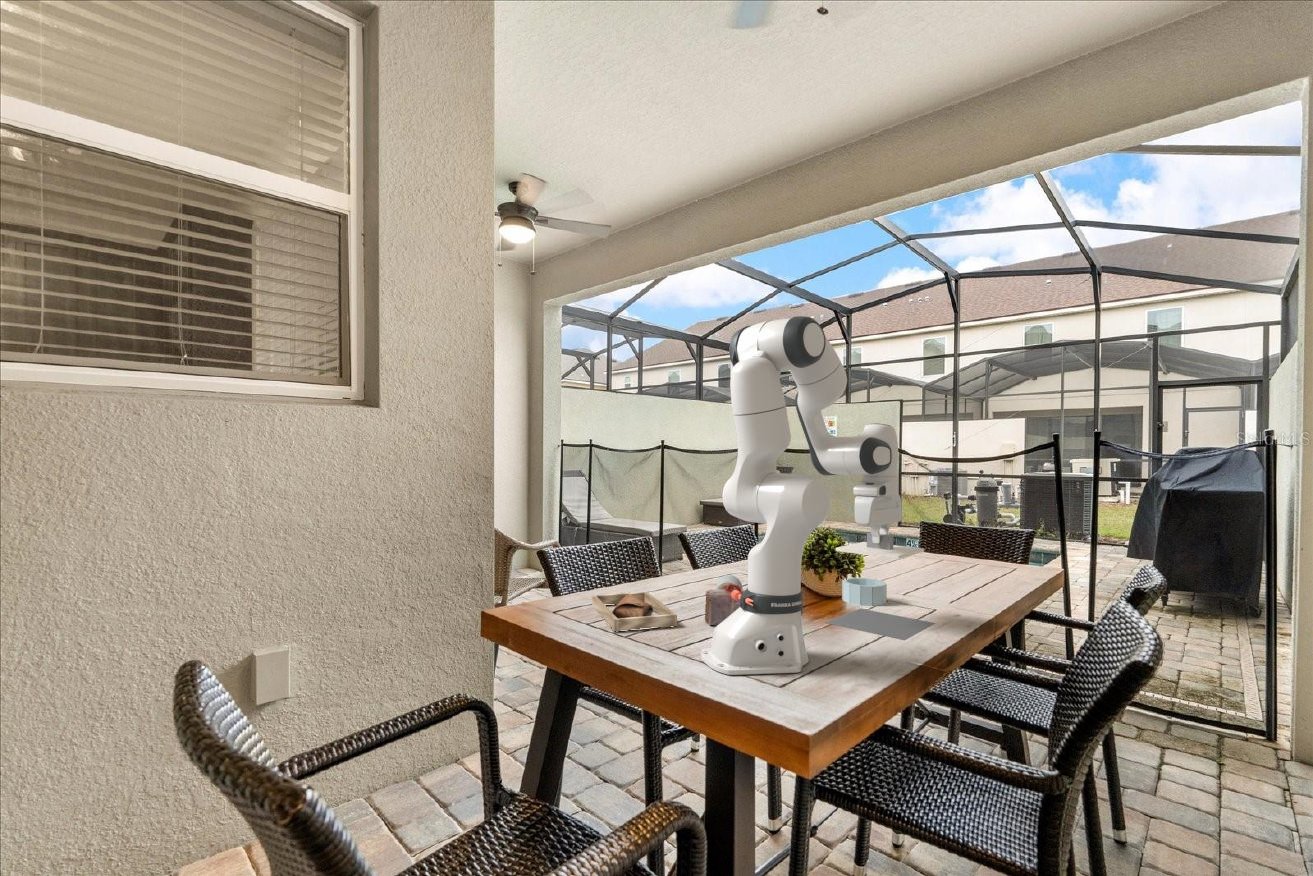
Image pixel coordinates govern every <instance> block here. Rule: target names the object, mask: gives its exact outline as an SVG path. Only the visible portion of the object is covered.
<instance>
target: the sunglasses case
mask: <svg viewBox="0 0 1313 876" xmlns="http://www.w3.org/2000/svg"><path fill="white" fill-rule="evenodd" d="M627 593H628V594H626V595H625V597H624V598H623V599H622V600H621V601H620V602H619V603H618V604H617V605H615V607H614V608H613V610H612V611H611V612H612V613H613V614H614V615H615V616H616V617H617V618H630V617H643V616H646V615H647V614H648V612H649V611H650V610H649V609H650V608H651V605H650V604H648V603H646V602H644V601H641V600H639V599H637V598H636V597H634V596H633V595H631V594H629V593H630V592H627ZM648 610H649V611H648ZM647 611H648V612H647ZM646 613H647V614H646Z"/></svg>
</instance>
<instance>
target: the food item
mask: <svg viewBox="0 0 1313 876" xmlns="http://www.w3.org/2000/svg"><path fill="white" fill-rule="evenodd" d="M734 590H737V591H739V592H741V593H742V594H743V593H744V592H745V591H746V589H743V590H741V587H739V586H738V585H732V584H731V585H729V584H728V585H726V586H725V589H716V588H715V589H714V588H713V589H709V590H706V591H705V604H704V605H705V608H704V621H705V623H707V625H708V624H709V625H714V626H717V625H719V624H720V623H721V622H722V621H724V620H725V619H726V618H727V617H729V616H730V615H731V614H732V613H733V612H734V611H736V610H737V609H738V608H739V607H740V601H736V600H734V599H733V598H732V597H731V593H732V591H734ZM709 625H708V626H709Z"/></svg>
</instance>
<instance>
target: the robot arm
mask: <svg viewBox="0 0 1313 876" xmlns="http://www.w3.org/2000/svg"><path fill="white" fill-rule="evenodd" d="M728 352H729V353H728V354H729V358H730V361H731V362H730V363H731V364H732V369H731V372H730V383H729V384H730V401H731V411H732V416H733V421H734V428H735V429H734V430H735V435H736V441H737V443H736V444H737V460H736V463H735V468H734V471H733V473H732V474H731V476H730V477H729V478H728V480H727V481H726V482H725V484H724V486H723V488H722V489H723V490H722V503H723V507H724V508H725V511H726V512H727V513H728V514H729V515H731V516H733V517H735V518H737V519H739V520H743V521H746V522H748V523H749V522H750V523H758V524H766V531H765V535H764V538H763V539H762V540H761V542H759V543H757V544H755V545H754V546H753V547H752V548H751V549H750V551H749V552H748V556H747V588H746V589H745V590H746V591H745V592H744V593H743V594H742V593H741V592H739V591H737V590H734V591H732V593H731V597H732V598H733V599H734V600H736V601H740V607H739V608H738V609H737V610H736V611H734V612H733V613H732V614H731V615H730V616H729V617H727V618H726V619H725V620H724V621H722V622H721V623H720V624H719V625H715V628H714V630H713V634H712V637H711V638H712V639H711V645H710V647H705V648H702V650H701V652H700V658H701V660H702V661H703V662H704V663H705V664H706V665H707V666H708V667H710V669H712V670H714V671H717V672H718V673H721V674H725V675H728V676H733V675H734V676H737V675H739V676H740V675H743V676H744V675H764V674H792V673H800V672H801V671H802V670H803V669H802V668H803V666H806V665H807V663H809V656H808V652H807V648H806V643H805V638H804V631H803V621H802V619H803V618H802V616H803V612H804V600H803V599H804V597H803V594H804V593H803V591H802V590H801V587H802V586H801V583H802V582H801V577H802V576H801V575H802V561H803V560H802V559H803V552H804V549H805V546H806V544H807V541H808V539H809V537H810V536H811V534H812V533H813V532H814V530H816V528H818V527H819V526H821V524H823V523H824V522H825V521H826V519H827V518H828V516H829V514H830V512H831V508H832V496H831V491H830V490H829V487H828V486H827V485H826V483H825V481H823V480H822V479H819V478H816V477H813V476H809V475H806V474H801V473H780V472H779V473H778V470H777V462H778V461H777V460H778V457H779V455H781V454H782V453H783V452H785V451H786V450H787V449H788V448H789V445H790V444H791V441H792V435H791V431H790V429H791V428H790V424H789V423H790V422H789V418H788V417H789V416H788V410H787V405H786V400H785V395H784V390H783V386H782V383H781V379H780V377H781V373H782V372H786V371H789V372H790V375H791V376H792V377H791V378H792V379H793V381H794V383H795V384H796V387H797V392H796V395H795V398H794V403H795V404H794V406H795V409H796V413H797V417H798V419H799V420H798V421H799V422H800V425H801V429H802V431H803V433H804V437H805V440H806V441H807V445H808V447H809V454H810V459H811V463H812V464H811V465H813V467H814V468H815V470H816V471H817V472H818V473H819V474H820V475H822V476H825V477H826V476H827V477H829V476H830V477H831V476H839V475H841V476H861V480H860V481H859V482H858V483H857V484H856V485H855V486H853V492H852V493H853V495H854V496H855V498H854V521H855V524H856V525H857V527H864V528H869V531H870V533H871V534H872V542H873V543H881V541H882V540H881V539H882V536H880V534H887V535H889V532H890V527H891V526H890V524H895V523H899V522H901V521H902V518H903V508H902V507H903V506H902V499H901V495H900V494H899V472H898V469H897V467H898V462H899V445H898V444H899V443H898V442H899V441H898V437H897V436H898V435H897V431H896V429H895V427H893V426H892V425H890V424H884V423H875V422H874V423H869V424H866V425H865V426H864V428H863V431H862V432H861V433H860V434H857V435H856V436H835V435H833V434H830V433H829V431H828V429H827V425H826V422H825V419H824V416H823V413H822V411H823V410H824V409H826V408H830V406H832V405H833V404H835V403H836V402H837V401H838V400H839V399H840V398H841V396H843V394H844V393H845V390H846V388H847V384H848V375H847V373H846V370H845V368H844V365H843V363H842V361H841V359H840V357H839V356H838V353H837V352H836V350H835V347H833V345H832V343H831V342H830V340H829V339H828V338H827V337H826V335H825V331H824V329H823V327H822V326H821V325H820V323H819V322H818V321H817V320H815V319H814V318H813V317H809V316H803V315H799V316H798V315H797V316H793V317H791V318H789V317H788V318H780V319H770V320H765V321H761V322H759V323H755V324H754V325H753V324H752V325H746V326H744V327H742V328H741V329H740V328H739V330H736V332H735V333H733V335H732V336H731V338H730V343H729V349H728Z"/></svg>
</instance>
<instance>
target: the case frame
mask: <svg viewBox="0 0 1313 876" xmlns="http://www.w3.org/2000/svg"><path fill="white" fill-rule="evenodd" d="M628 593H629V594H631V595H633V596H634V597H636V598H637V599H639V600H641V601H644V602H646V603H648V604H650V605H651V608H652V609H654V610H655V611H656V612H657V613H658V614H660V615H658V614H657V615H647V616H646V615H645V616H643V617H630V618H617V617H616V616H615V615H614V614H613V613H612V612H613V611H612V610H610V609H609V608H608V606H605V605H604V604H618V603H619V602H620V601H621V600H622V599H623V598H624V597H625V595H626V594H628ZM591 596H592V597H591V598H592V599H591V601H592V602H591V603H592V604H591V606H592V605H593V606H594V608H595V609H596V610H597V611H598V612H597V611H596V610H595V609H594V608H593V609H594V610H595V611H596V612H597V614H598V613H599V614H601V616H602V617H603V618H604V619H605V621H606V622H607V623H608V624H609V625H610V627H612V629H613V630H614V631H621V630H631V629H640V628H651V627H671V626H677V627H678V614H676V613H675V612H674V611H673V610H671V609H670V608H668V607H667V606H666V605H664V603H662V602H661V601H659V600H658V599H657V598H655V597H654V596H653V595H652V594H651V593H649V592H648V591H643V592H642V591H641V592H625V593H611V594H610V593H609V594H593V595H591ZM652 609H651V610H652ZM599 614H598V615H599ZM601 616H600V617H601ZM602 617H601V618H602ZM603 618H602V619H603ZM605 621H604V622H605ZM606 622H605V623H606ZM607 623H606V624H607ZM608 624H607V625H608ZM610 627H609V628H610ZM612 629H611V630H612ZM613 630H612V631H613Z"/></svg>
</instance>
